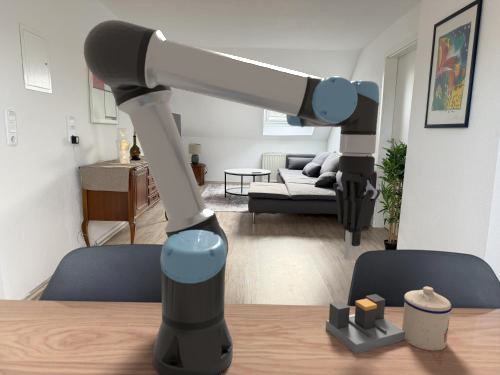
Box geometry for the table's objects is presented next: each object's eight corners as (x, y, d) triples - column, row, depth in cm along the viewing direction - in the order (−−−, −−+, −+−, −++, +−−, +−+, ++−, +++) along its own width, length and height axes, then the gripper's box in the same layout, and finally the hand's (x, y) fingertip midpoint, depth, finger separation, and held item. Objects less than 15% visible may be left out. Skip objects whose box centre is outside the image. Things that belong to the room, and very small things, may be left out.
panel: (355, 353, 69) (357, 323, 68) (325, 328, 78) (327, 301, 77) (404, 340, 74) (406, 311, 73) (370, 318, 83) (372, 292, 82)
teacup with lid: (455, 354, 69) (461, 299, 68) (408, 349, 70) (412, 295, 69) (432, 323, 81) (437, 276, 79) (391, 320, 82) (395, 273, 81)
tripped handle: (363, 330, 73) (365, 307, 73) (354, 323, 76) (355, 300, 76) (375, 327, 75) (376, 304, 74) (365, 320, 77) (366, 298, 77)
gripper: (392, 156, 71) (384, 265, 75) (351, 153, 83) (345, 248, 87) (364, 156, 68) (357, 270, 72) (325, 153, 80) (320, 251, 84)
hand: (351, 258), depth 79 cm, fingers closed
